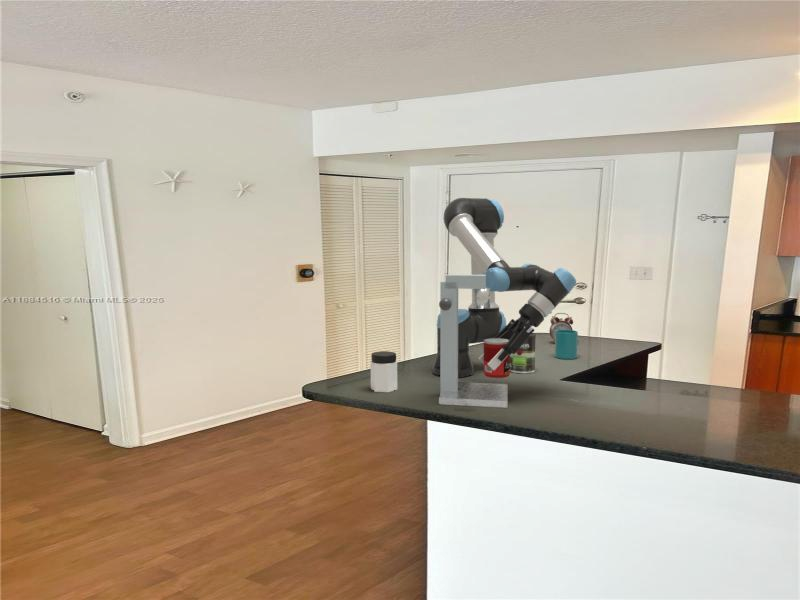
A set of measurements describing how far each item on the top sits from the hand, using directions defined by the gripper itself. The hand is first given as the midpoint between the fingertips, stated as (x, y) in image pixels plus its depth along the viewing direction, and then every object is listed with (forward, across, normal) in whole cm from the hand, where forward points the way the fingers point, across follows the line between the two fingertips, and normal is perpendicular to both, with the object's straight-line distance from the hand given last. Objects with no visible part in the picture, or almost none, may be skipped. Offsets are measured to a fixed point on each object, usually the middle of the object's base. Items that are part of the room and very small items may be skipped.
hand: (486, 364), depth 166 cm
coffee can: (-10, +34, -26) cm, 44 cm away
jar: (+28, +17, +14) cm, 35 cm away
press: (+10, +1, -5) cm, 11 cm away
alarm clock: (-40, +84, -55) cm, 108 cm away
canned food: (0, 0, -5) cm, 5 cm away
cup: (-31, +53, -47) cm, 77 cm away
